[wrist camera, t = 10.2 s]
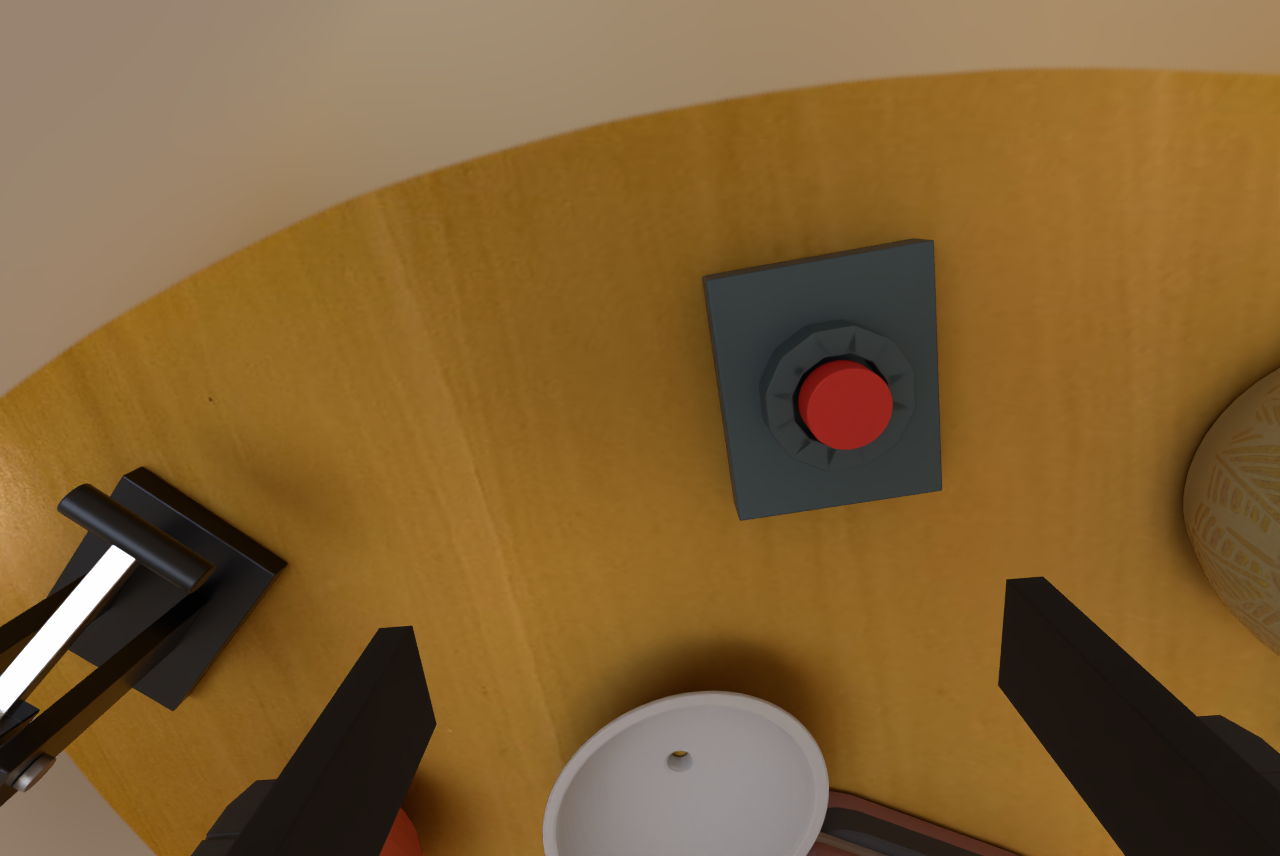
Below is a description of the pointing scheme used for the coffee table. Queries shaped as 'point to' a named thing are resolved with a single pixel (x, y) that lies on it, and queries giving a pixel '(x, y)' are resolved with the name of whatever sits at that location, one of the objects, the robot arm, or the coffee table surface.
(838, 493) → the control block
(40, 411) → the coffee table surface
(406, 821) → the tomato
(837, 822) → the toaster
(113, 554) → the lever
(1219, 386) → the coffee table surface
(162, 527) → the bracket
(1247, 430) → the vase
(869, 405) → the button
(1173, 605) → the coffee table surface
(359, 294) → the coffee table surface
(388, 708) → the robot arm
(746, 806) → the dish
